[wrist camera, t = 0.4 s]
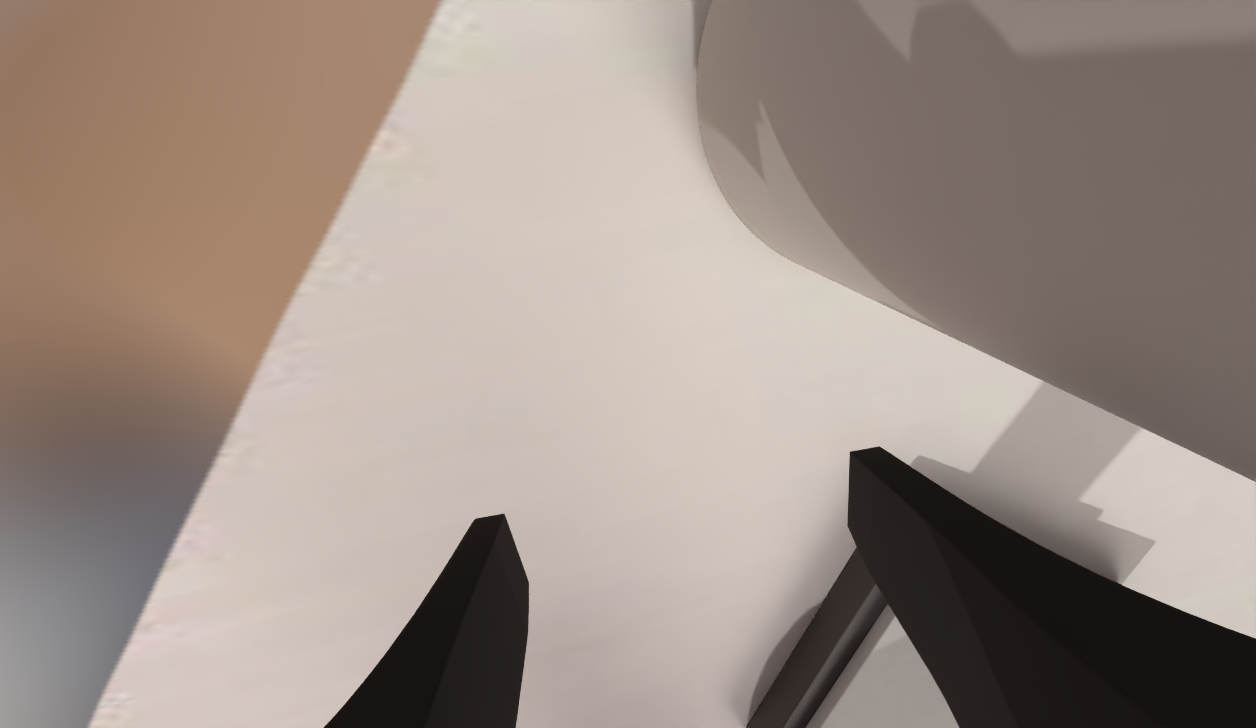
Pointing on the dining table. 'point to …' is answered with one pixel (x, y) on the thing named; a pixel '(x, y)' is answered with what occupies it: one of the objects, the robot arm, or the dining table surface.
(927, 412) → the dining table surface
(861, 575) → the scale
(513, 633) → the robot arm
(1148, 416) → the cylinder vase
